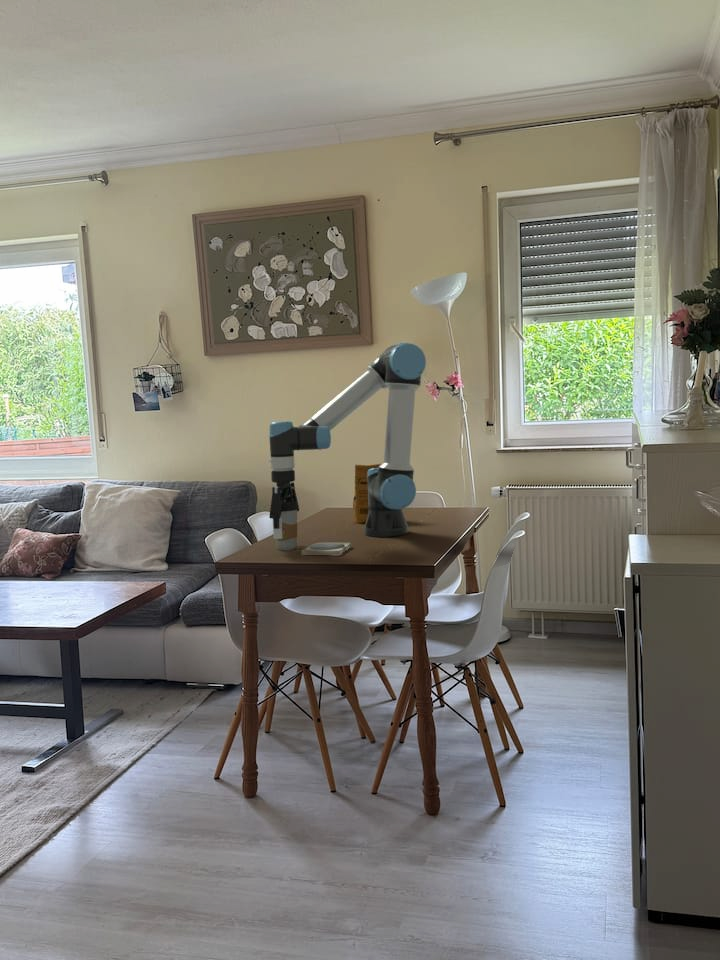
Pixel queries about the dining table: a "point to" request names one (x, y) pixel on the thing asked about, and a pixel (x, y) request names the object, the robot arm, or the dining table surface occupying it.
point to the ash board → (326, 549)
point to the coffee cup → (288, 526)
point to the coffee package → (361, 493)
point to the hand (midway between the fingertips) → (285, 535)
